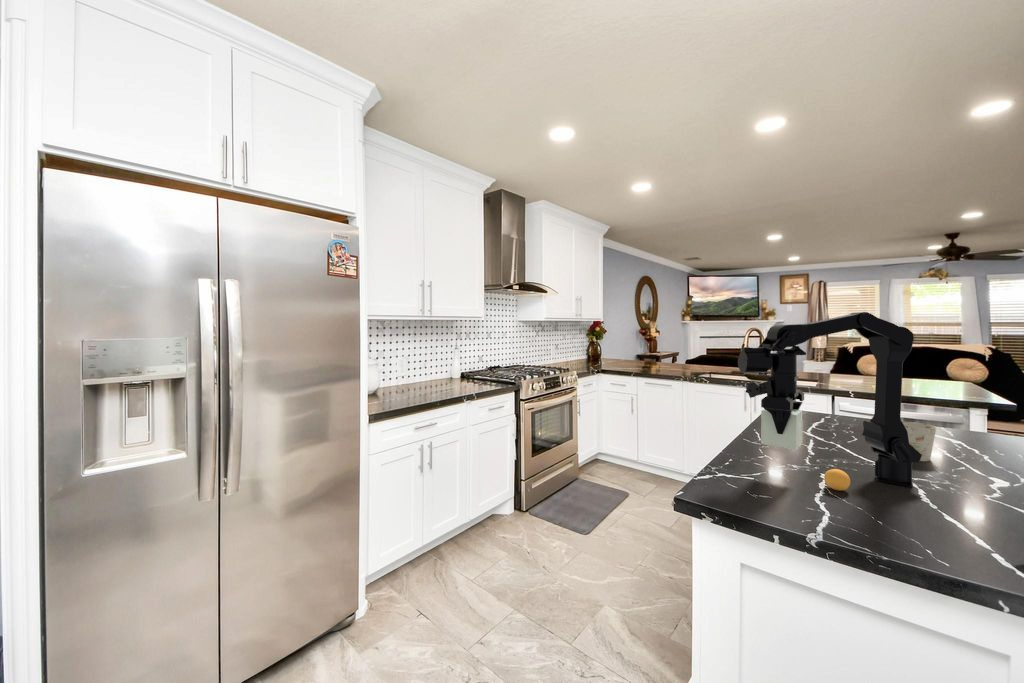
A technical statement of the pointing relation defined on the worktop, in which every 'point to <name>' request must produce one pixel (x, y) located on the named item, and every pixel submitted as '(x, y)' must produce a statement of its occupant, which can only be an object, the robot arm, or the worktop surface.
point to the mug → (921, 438)
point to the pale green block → (790, 435)
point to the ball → (837, 479)
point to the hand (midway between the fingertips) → (783, 430)
